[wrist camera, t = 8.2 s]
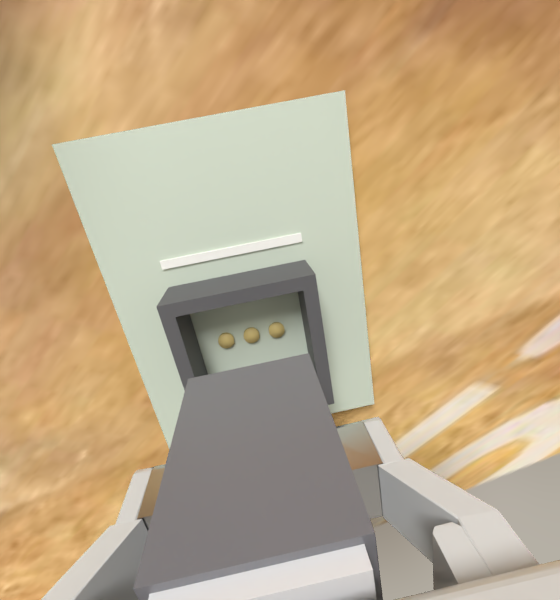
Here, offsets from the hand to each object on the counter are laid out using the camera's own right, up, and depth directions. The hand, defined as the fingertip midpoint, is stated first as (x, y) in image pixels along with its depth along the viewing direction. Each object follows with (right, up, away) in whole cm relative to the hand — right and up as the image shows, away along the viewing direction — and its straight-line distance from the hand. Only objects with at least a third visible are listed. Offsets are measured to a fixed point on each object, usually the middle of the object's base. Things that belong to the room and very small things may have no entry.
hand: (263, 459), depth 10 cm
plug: (0, +1, +2) cm, 2 cm away
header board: (-1, +5, +8) cm, 9 cm away
